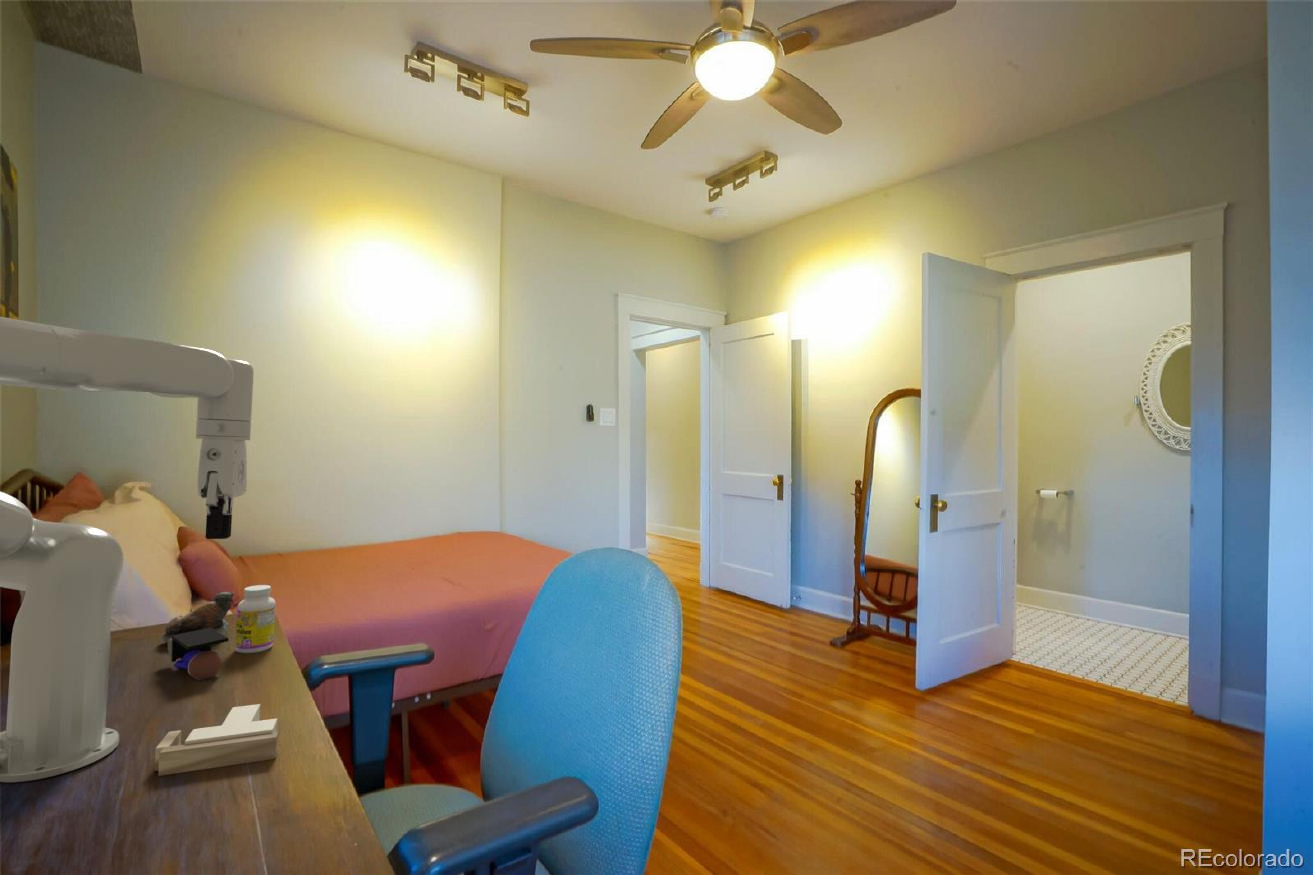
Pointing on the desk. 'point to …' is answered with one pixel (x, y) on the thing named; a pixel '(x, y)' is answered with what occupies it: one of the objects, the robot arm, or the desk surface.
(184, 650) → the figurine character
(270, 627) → the supplement bottle
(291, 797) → the desk surface
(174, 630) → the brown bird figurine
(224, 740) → the corner stop
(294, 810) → the desk surface
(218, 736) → the t block
